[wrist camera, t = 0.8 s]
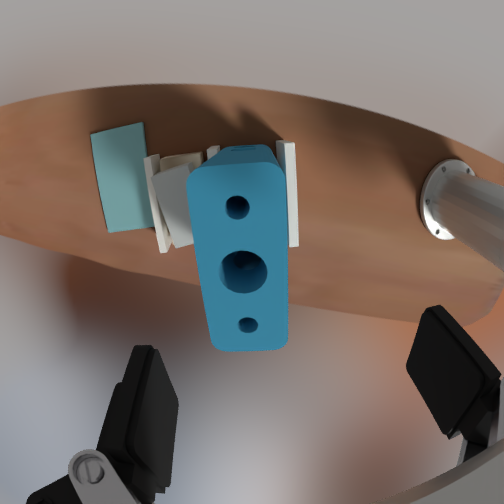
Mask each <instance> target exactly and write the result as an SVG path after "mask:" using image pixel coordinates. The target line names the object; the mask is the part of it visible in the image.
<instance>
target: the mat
mask: <svg viewBox="0 0 504 504" xmlns="http://www.w3.org/2000/svg"><path fill="white" fill-rule="evenodd" d="M91 142H92V149H93V156H94V163H95V169H96V175H97V180H98V186H99V191H100V196H101V201H102V206H103V210H104V215H105V219H106V224H107V228H108V232H109V233H110V232H118V231H125V230H132V229H140V228H147V227H155V225H154V219H153V214H152V209H151V203H150V198H149V192H148V186H147V179H146V173H145V166H144V159H143V158H146V157H148V156H147V148H146V141H145V132H144V124H143V122H140V123H136V124H131V125H127V126H122V127H118V128H114V129H110V130H106V131H102V132H98V133H95V134H91Z"/></svg>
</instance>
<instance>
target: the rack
mask: <svg viewBox="0 0 504 504" xmlns="http://www.w3.org/2000/svg"><path fill="white" fill-rule="evenodd" d="M219 151H220V145H218V146H211V147H210V148H209V149H207V157H208V159H210V158H211V157H212V156H214V155H215V154H217V153H218V152H219ZM276 153H277V162H278V164H279V166H280V168H281V169H282V171H283V173H284V176H285V181H286V208H287V243H288V245H289V247H296V246H299V244H298V206H297V181H296V160H295V143H294V142H290V141H286V140H277V141H276ZM143 159H144V166H145V173H146V179H147V186H148V192H149V198H150V203H151V209H152V214H153V219H154V225H155V230H156V235H157V239H158V244H159V249H160V253H165V252H167V251H168V249H169V247H170V245H171V243H172V241H173V240H172V237H171V234H170V232H169V229H168V226H167V224H166V221H165V218H164V215H163V213H162V210H161V207H160V204H159V201H158V198H157V196H156V193H155V190H154V187H153V184H152V181H151V178H150V177H152V176H153V175H155V174H156V173H158V172H161V169H160V162H159V160H160V155H159V154H155V155H151V156H149V157H146V158H143Z"/></svg>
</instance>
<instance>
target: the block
mask: <svg viewBox="0 0 504 504" xmlns="http://www.w3.org/2000/svg"><path fill="white" fill-rule="evenodd" d="M186 191H187V198H188V206H189V213H190V220H191V227H192V234H193V241H194V247H195V253H196V260H197V266H198V272H199V278H200V284H201V289H202V294H203V300H204V305H205V311H206V317H207V322H208V327H209V332H210V337H211V341H212V344H213V345H214V346H215V347H216V348H217V349H219V350H222V351H263V350H276V349H279V348H281V347H283V346H284V345H285V344H286V343H287V341H288V248H287V208H286V181H285V176H284V173H283V171H282V169H281V168H280V166H279V164H278V162H277V160H276V158H275V156H274V154H273V153H272V151H271V149H270V148H269V147H268V146H266V145H262V144H259V145H244V146H230V147H226V148H224V149H222V150H221V151H219V152H218V153H217V154H215V155H214V156H212V157H211V158H210V159H208V160H207V161H206V162H204V163H203V164H202V165H200V166H199V167H198V168H196V169H195V170H194V171H193V172H191V173H190V175H189V177H188V178H187V182H186Z"/></svg>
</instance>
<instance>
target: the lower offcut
mask: <svg viewBox="0 0 504 504" xmlns="http://www.w3.org/2000/svg"><path fill="white" fill-rule="evenodd" d="M159 162H160V169H161V171H164V170H167V169H170V168H173V167H176V166H179V165H182V164H185V163H189V162H192V164H193V167H194V170H195V169H196V168H198V167H199V166H200V165H202V164H203V163H204V159H203V151H202V152H194V153H187V154H180V155H173V156H167V157H164V158H162V159H160V160H159ZM173 244H174V242H173Z"/></svg>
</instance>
